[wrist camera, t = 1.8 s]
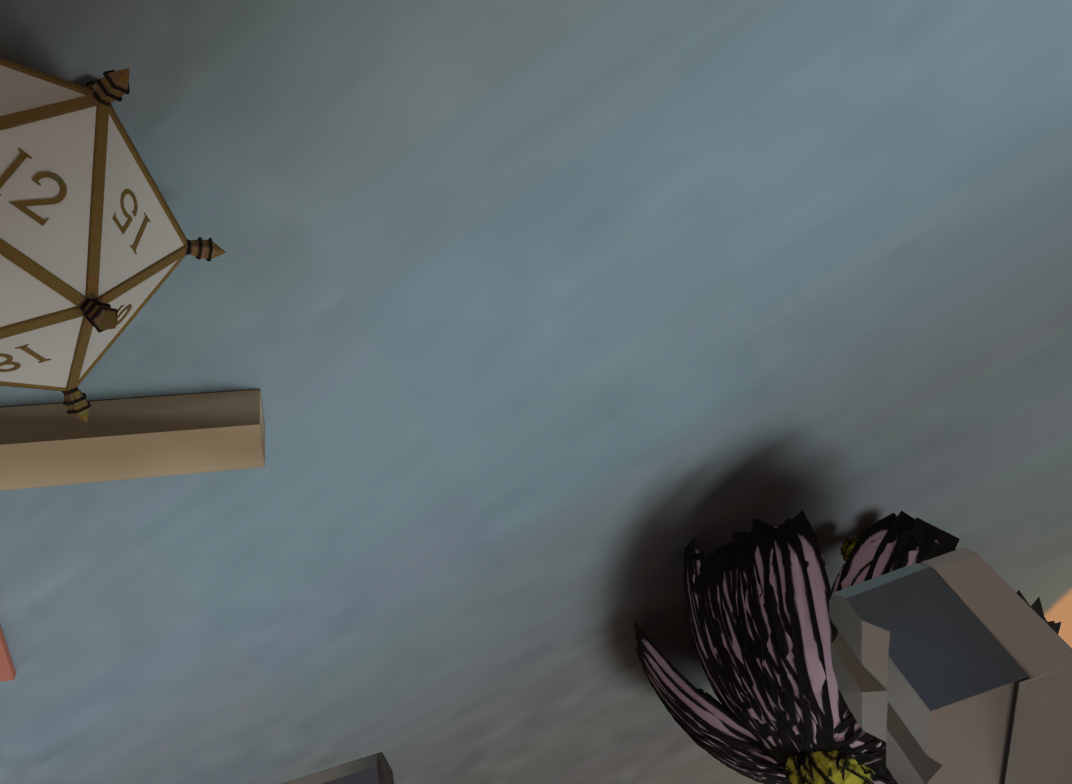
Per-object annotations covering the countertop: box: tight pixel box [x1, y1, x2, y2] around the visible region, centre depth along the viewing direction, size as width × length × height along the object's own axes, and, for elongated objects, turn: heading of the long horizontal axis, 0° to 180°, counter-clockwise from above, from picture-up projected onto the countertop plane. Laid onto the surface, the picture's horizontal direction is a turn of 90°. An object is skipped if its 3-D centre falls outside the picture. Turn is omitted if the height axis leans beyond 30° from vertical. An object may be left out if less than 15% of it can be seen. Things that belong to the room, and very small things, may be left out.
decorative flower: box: [634, 510, 1061, 784], centre depth 34 cm, size 14×12×15 cm
